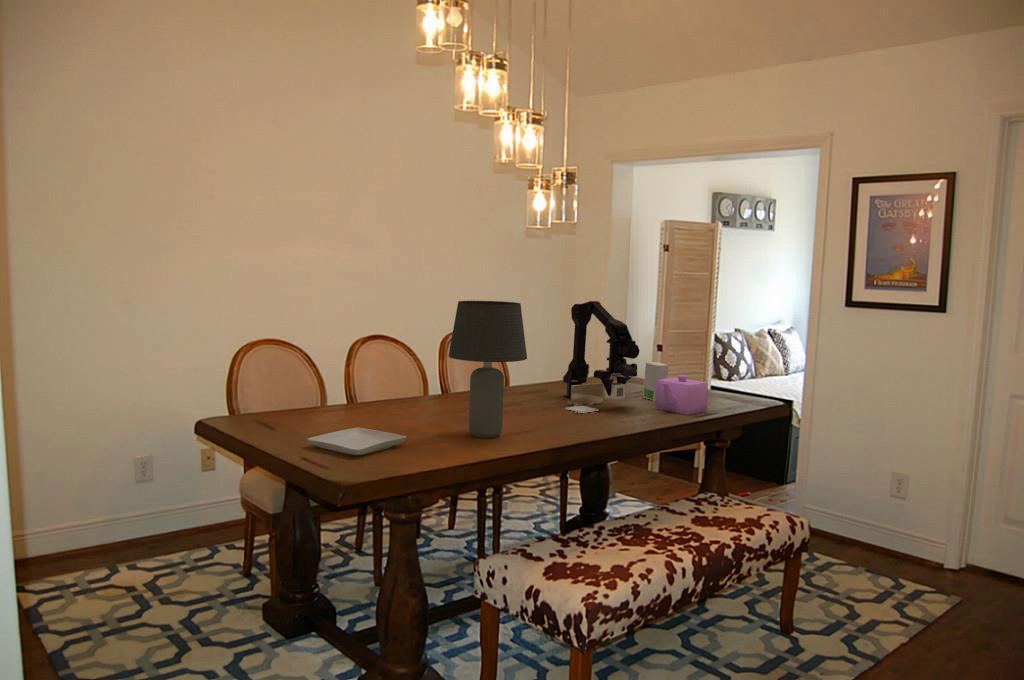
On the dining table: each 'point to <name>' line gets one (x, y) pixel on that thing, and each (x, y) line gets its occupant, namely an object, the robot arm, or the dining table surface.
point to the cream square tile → (582, 409)
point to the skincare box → (653, 378)
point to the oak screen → (586, 394)
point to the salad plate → (357, 441)
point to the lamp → (487, 356)
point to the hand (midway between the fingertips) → (614, 395)
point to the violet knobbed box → (681, 395)
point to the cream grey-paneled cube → (616, 391)
